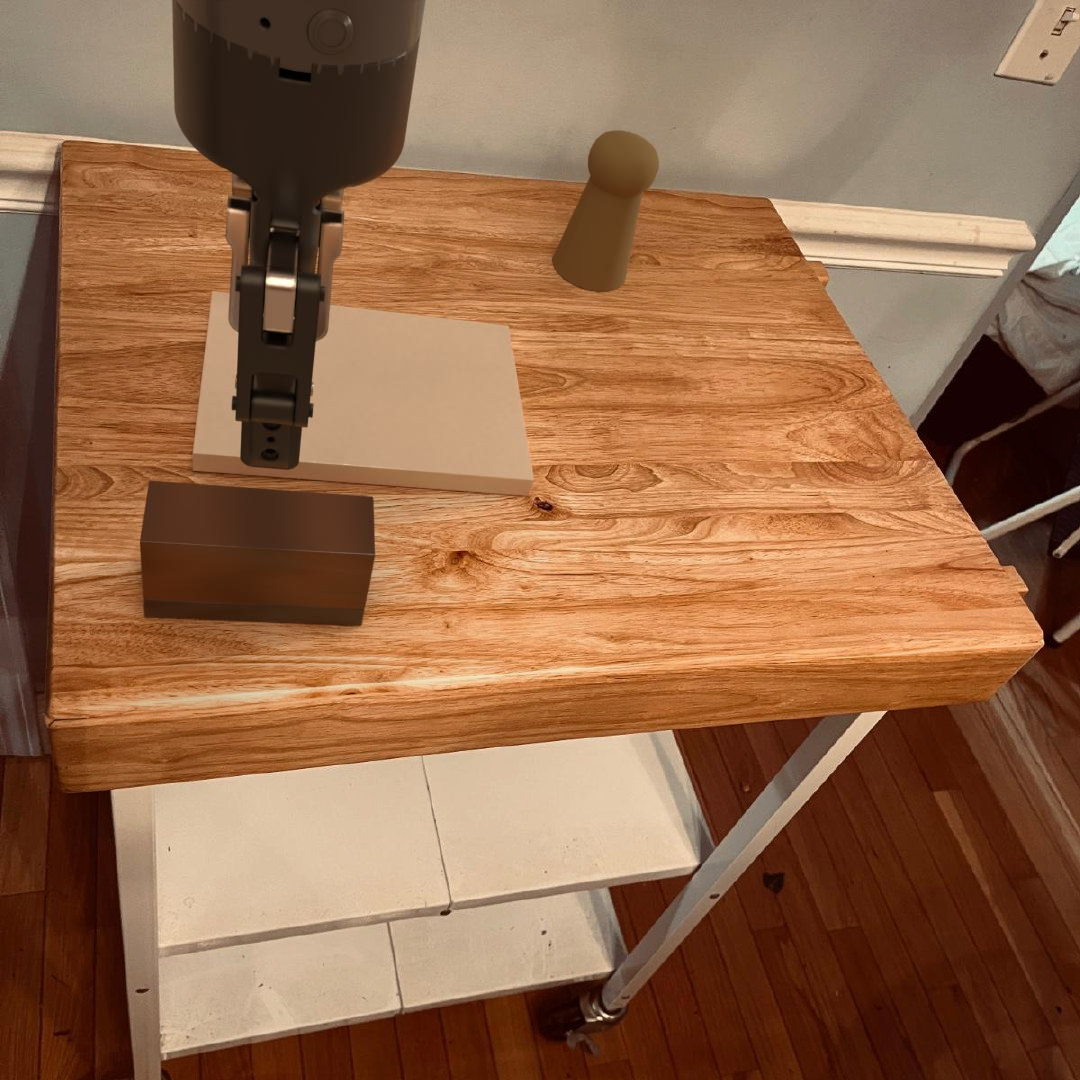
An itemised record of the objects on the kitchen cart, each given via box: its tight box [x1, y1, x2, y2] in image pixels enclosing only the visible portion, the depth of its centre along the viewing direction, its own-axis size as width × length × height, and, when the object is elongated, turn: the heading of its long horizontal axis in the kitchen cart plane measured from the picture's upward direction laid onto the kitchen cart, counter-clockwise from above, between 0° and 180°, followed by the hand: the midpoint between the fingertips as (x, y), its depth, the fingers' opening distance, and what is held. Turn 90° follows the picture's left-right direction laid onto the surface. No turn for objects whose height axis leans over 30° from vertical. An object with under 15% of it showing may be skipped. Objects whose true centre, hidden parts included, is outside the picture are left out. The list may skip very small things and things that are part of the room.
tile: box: [191, 290, 535, 497], centre depth 68 cm, size 20×15×2 cm
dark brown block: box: [139, 479, 376, 627], centre depth 55 cm, size 11×4×6 cm, turn 98°
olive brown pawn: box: [552, 129, 660, 293], centre depth 81 cm, size 6×6×11 cm
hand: (274, 389), depth 45 cm, fingers open, 8 cm apart
